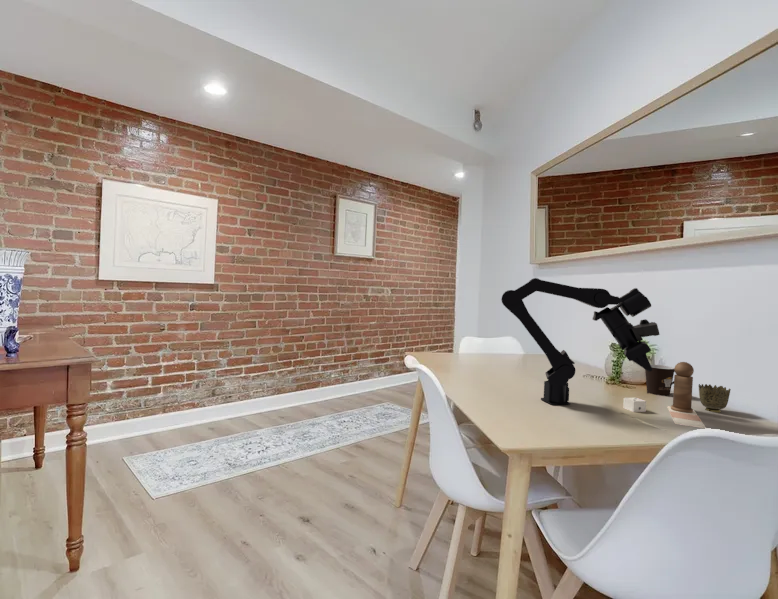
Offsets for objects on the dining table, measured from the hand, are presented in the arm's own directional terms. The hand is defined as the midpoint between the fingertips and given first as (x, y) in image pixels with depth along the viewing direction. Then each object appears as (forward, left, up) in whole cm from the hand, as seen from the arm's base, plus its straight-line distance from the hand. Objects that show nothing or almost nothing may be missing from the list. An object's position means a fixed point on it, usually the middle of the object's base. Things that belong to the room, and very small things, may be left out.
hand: (650, 370), depth 123 cm
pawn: (+9, -2, -11) cm, 14 cm away
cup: (+19, -3, -12) cm, 23 cm away
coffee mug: (+21, +17, -12) cm, 30 cm away
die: (-5, -1, -12) cm, 13 cm away
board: (+5, -7, -12) cm, 15 cm away
